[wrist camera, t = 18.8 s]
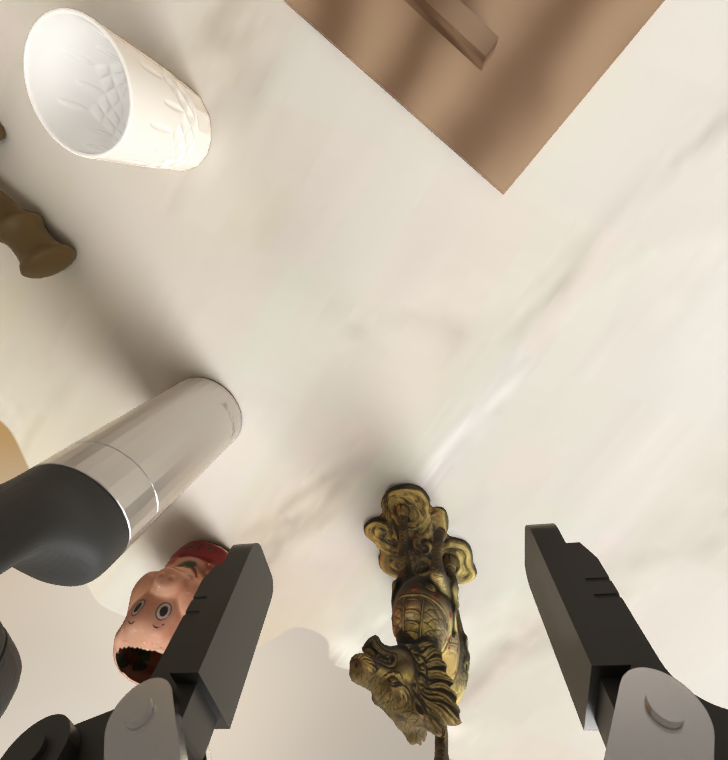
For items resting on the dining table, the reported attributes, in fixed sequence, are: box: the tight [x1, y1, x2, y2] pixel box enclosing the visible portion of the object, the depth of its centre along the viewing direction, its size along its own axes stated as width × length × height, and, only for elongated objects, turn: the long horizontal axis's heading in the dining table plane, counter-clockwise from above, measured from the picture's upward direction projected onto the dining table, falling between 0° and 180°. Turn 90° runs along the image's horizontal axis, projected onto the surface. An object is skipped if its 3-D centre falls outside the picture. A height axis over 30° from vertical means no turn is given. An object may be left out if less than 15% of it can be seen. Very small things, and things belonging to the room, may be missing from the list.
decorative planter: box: [113, 541, 229, 685], centre depth 48 cm, size 20×12×14 cm, turn 1°
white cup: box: [23, 8, 212, 171], centre depth 28 cm, size 8×8×10 cm
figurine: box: [349, 484, 477, 760], centre depth 37 cm, size 13×25×20 cm, turn 12°
